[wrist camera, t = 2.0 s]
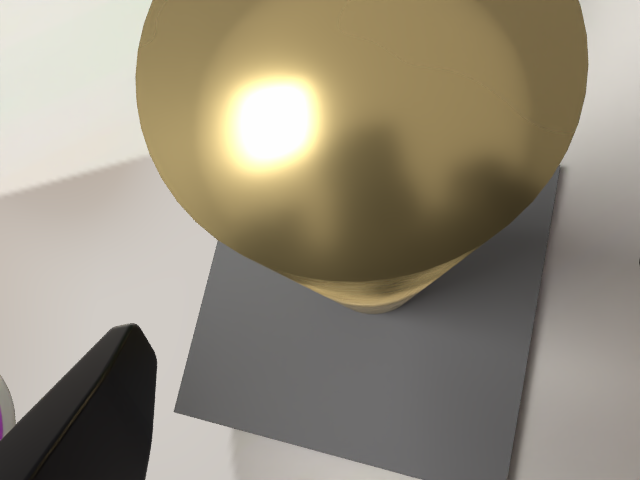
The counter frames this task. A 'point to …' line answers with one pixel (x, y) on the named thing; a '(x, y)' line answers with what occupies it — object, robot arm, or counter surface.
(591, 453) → the counter surface
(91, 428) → the robot arm
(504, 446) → the charcoal mat
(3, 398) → the supplement bottle
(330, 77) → the brass pin
